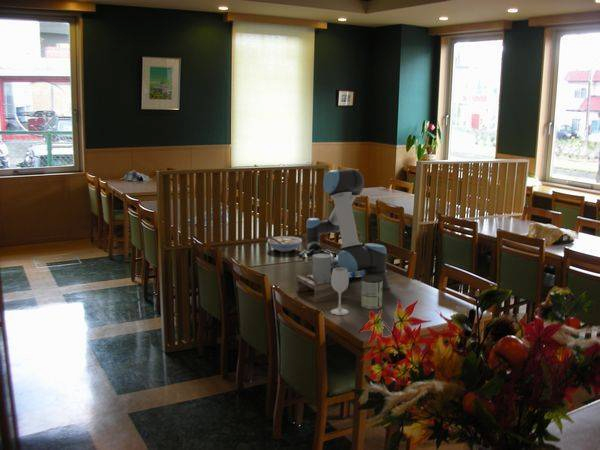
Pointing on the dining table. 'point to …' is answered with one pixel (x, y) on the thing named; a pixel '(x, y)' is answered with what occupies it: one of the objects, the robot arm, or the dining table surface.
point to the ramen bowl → (284, 243)
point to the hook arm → (319, 281)
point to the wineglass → (339, 287)
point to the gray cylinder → (321, 267)
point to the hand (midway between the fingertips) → (319, 259)
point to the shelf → (318, 289)
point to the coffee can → (371, 291)
